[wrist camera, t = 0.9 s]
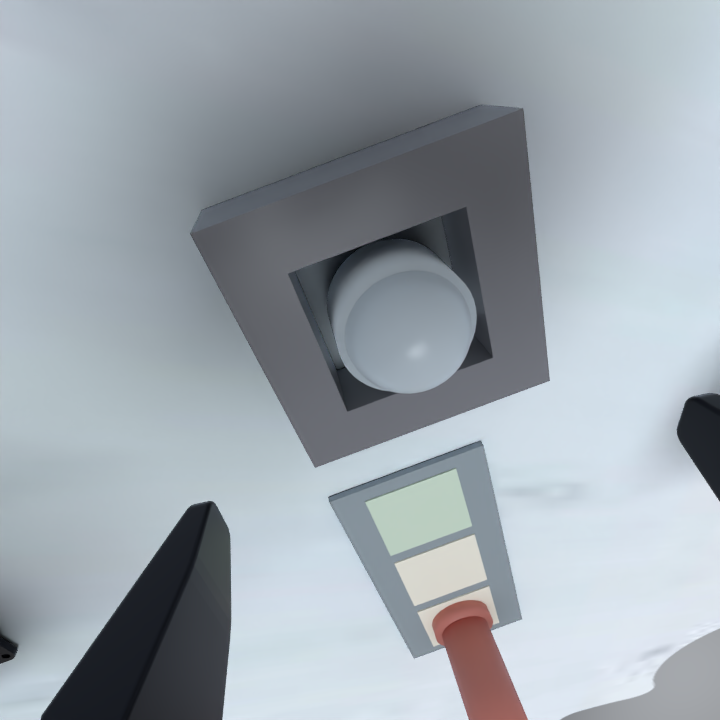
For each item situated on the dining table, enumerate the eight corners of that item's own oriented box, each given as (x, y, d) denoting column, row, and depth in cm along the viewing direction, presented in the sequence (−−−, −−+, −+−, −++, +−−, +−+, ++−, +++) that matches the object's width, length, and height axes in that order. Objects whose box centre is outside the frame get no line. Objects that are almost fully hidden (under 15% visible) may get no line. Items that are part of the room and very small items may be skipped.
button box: (308, 422, 25) (315, 467, 22) (201, 210, 18) (190, 233, 15) (515, 345, 25) (549, 380, 22) (481, 104, 18) (523, 108, 15)
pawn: (438, 641, 39) (510, 868, 27) (426, 613, 36) (500, 852, 25) (491, 621, 39) (585, 841, 27) (483, 592, 36) (583, 822, 25)
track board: (412, 653, 40) (414, 659, 39) (328, 497, 28) (329, 503, 28) (519, 614, 40) (522, 620, 39) (480, 440, 28) (484, 446, 28)
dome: (350, 371, 22) (372, 446, 17) (307, 266, 19) (322, 323, 14) (460, 331, 22) (511, 394, 17) (435, 218, 19) (490, 260, 14)
